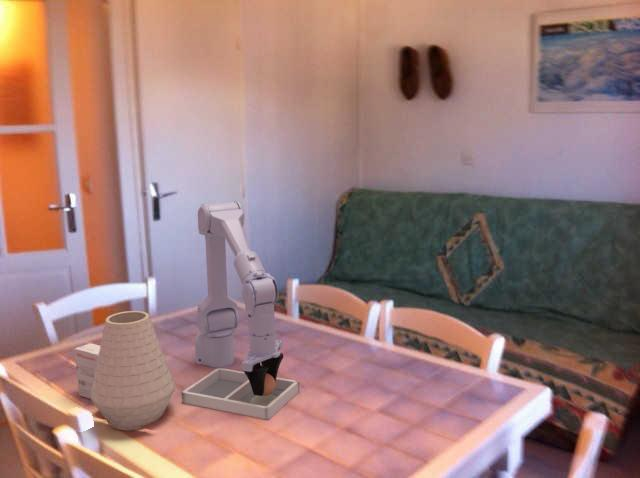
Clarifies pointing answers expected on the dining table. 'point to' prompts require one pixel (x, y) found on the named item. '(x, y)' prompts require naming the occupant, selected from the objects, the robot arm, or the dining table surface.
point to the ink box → (86, 367)
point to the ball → (268, 385)
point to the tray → (237, 394)
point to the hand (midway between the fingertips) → (264, 389)
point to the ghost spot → (263, 400)
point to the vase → (131, 373)
